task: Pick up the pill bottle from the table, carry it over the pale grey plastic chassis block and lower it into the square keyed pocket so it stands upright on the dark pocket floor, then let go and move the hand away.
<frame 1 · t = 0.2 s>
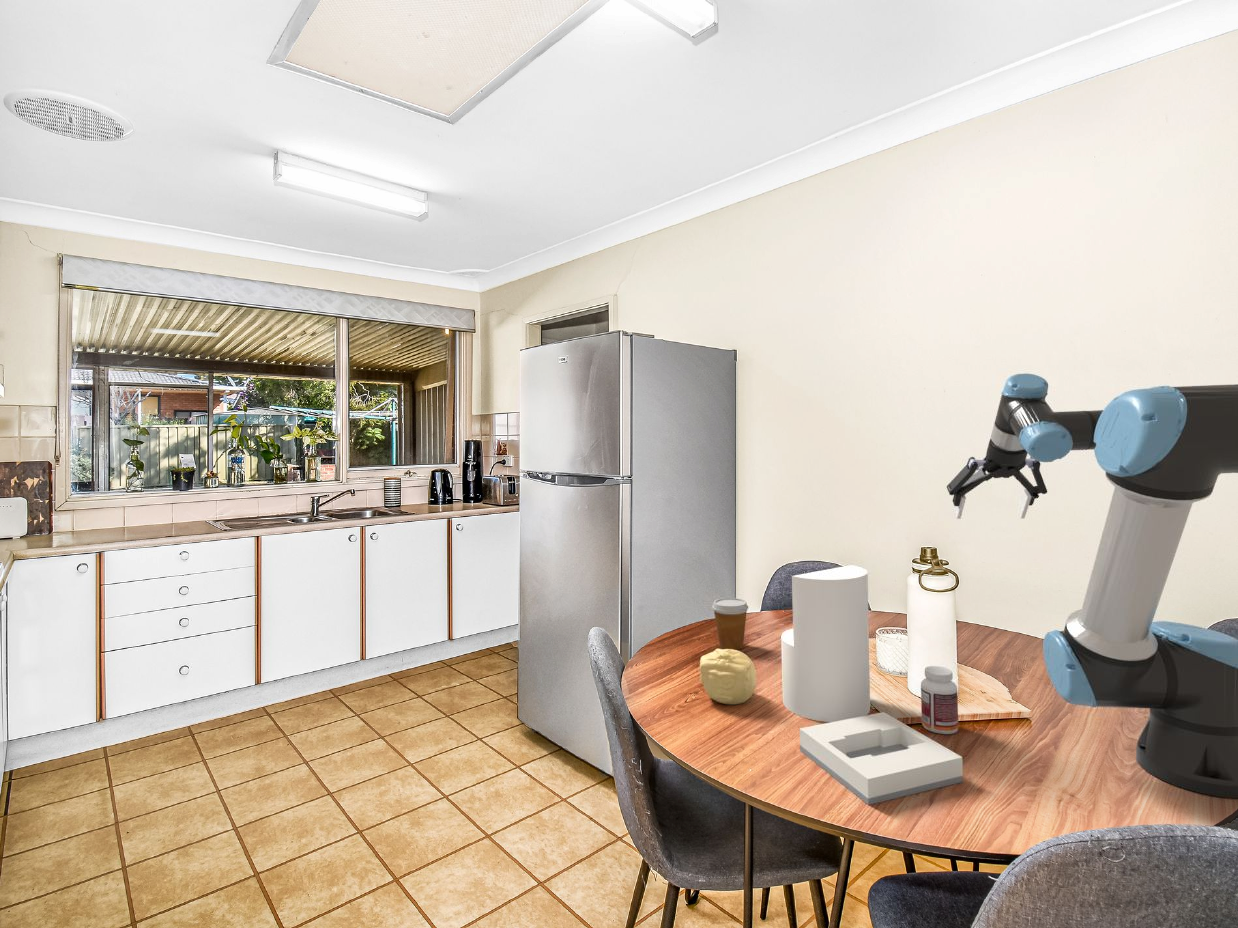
hand: (988, 514, 150), 36 cm above the table, tool tilted 35°, fingers open, 13 cm apart
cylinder: (825, 704, 132), on the table
sculpture: (729, 699, 137), on the table
disposable coffee cup: (731, 647, 170), on the table
pill bottle: (939, 728, 120), on the table
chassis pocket: (876, 765, 107), on the table
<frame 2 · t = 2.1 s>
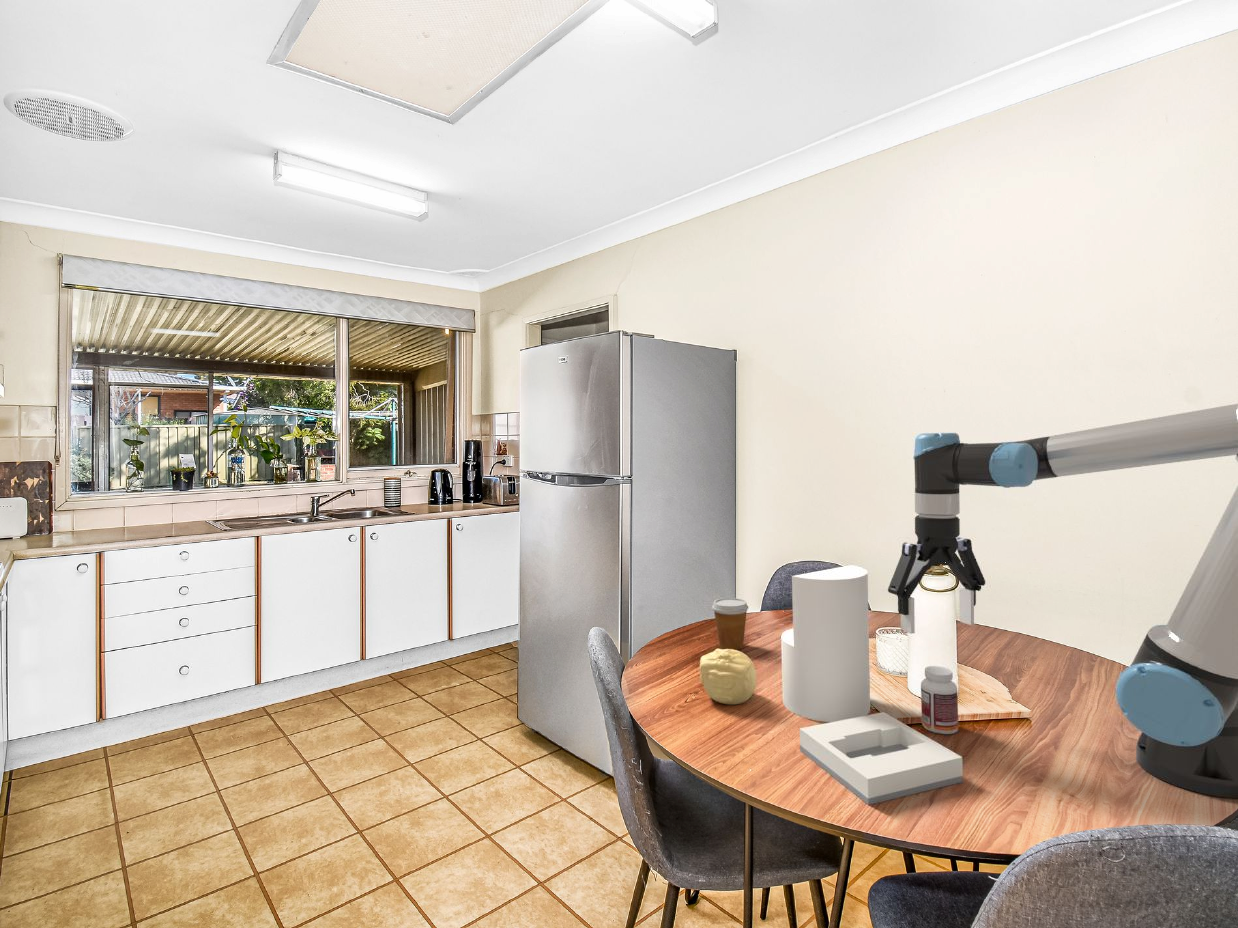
hand: (937, 627, 120), 19 cm above the table, tool pointing down, fingers open, 13 cm apart
nothing on the table moved.
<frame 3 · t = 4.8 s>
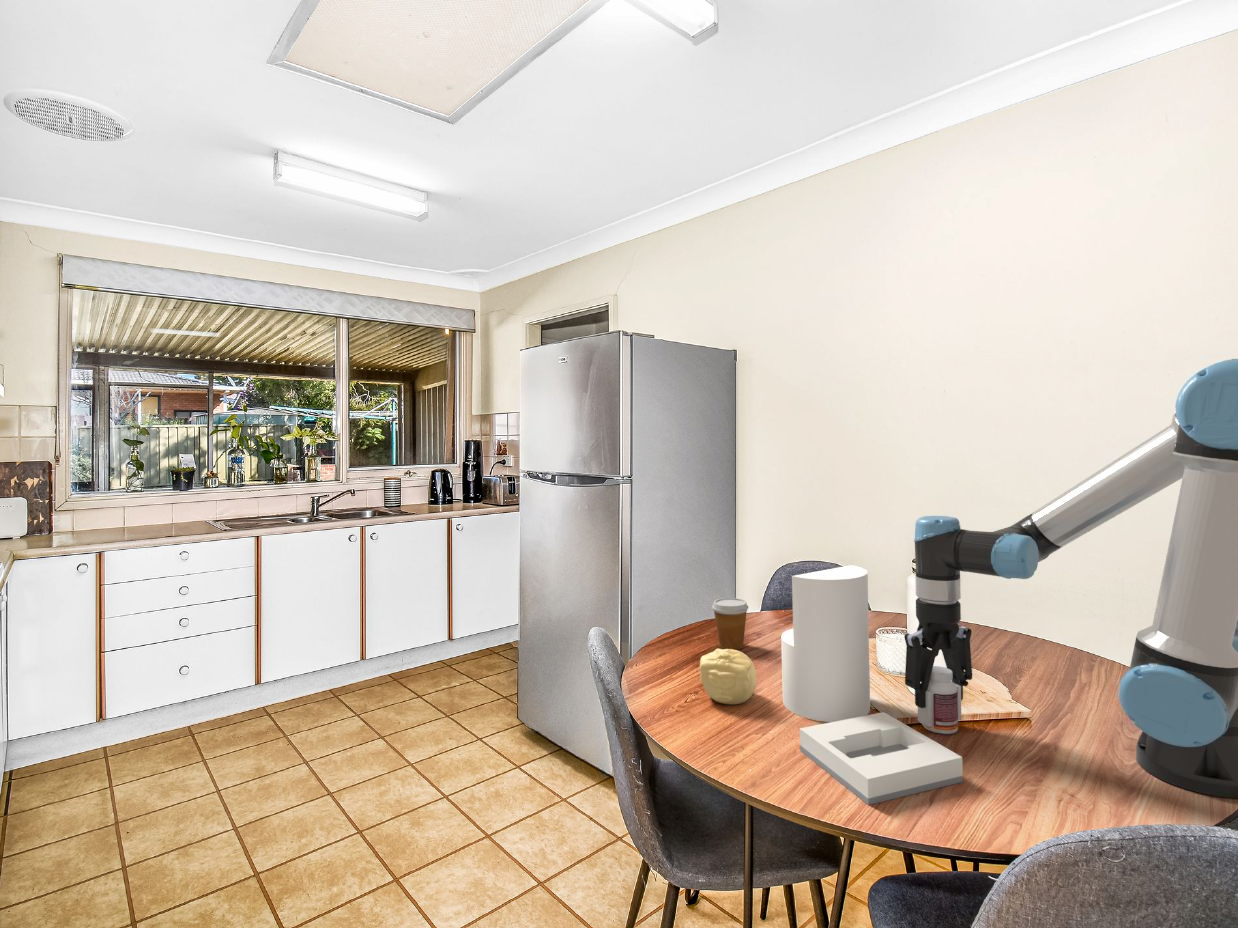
hand: (939, 720, 120), 1 cm above the table, tool pointing down, fingers closed on pill bottle, 6 cm apart
pill bottle: (939, 728, 120), on the table, touching gripper
everything else where it was.
when the fingers open (3 cm above the table, at t = 11.1 s): pill bottle stays where it is, resting on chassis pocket.
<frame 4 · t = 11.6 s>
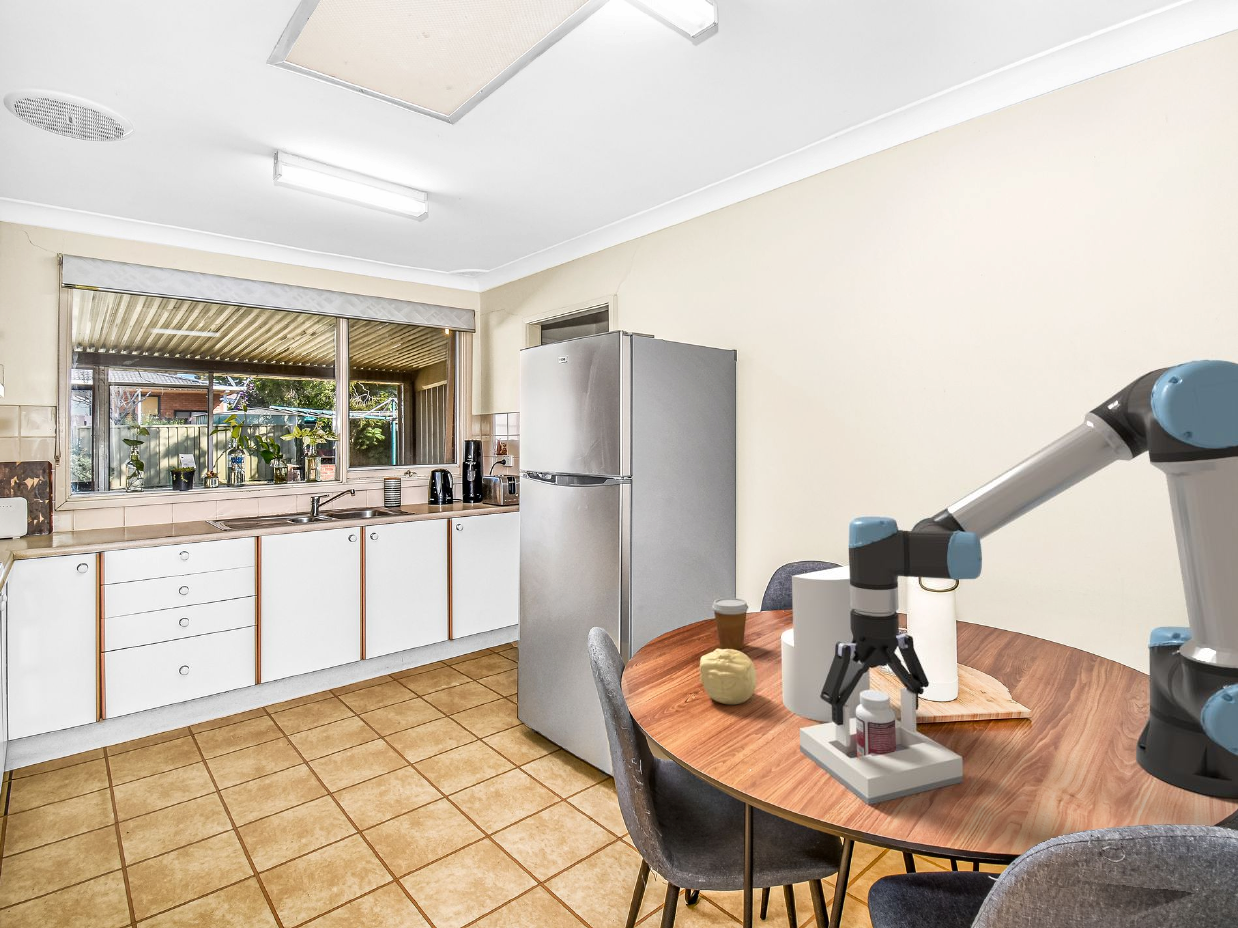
hand: (876, 735, 107), 5 cm above the table, tool pointing down, fingers open, 13 cm apart
pill bottle: (876, 760, 107), point 1 cm above the table, touching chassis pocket
everything else where it was.
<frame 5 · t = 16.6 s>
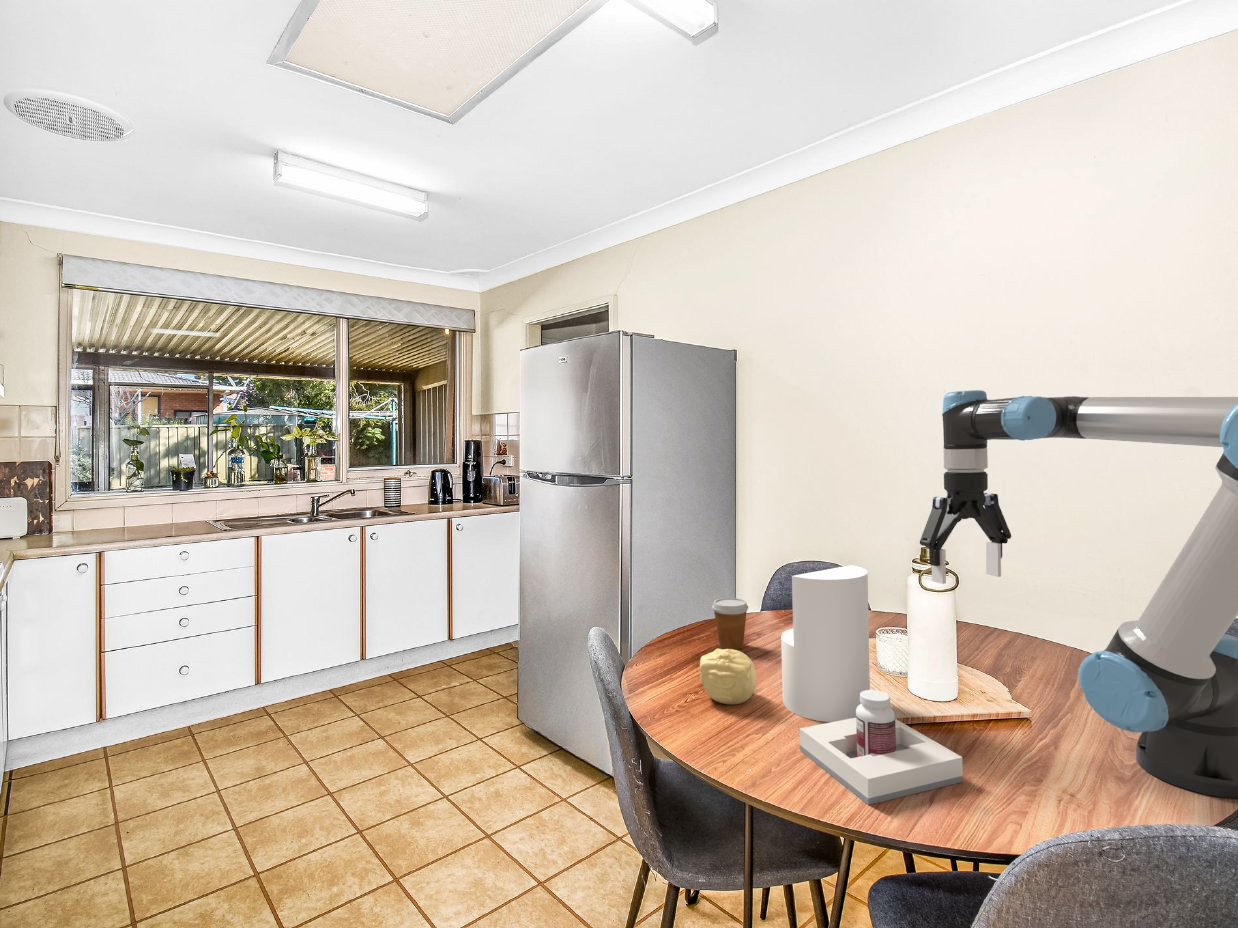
hand: (966, 578, 125), 27 cm above the table, tool pointing down, fingers open, 13 cm apart
nothing on the table moved.
at the end: pill bottle 0.1 cm off-centre on the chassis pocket, point 0.8 cm above the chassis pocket's base; pill bottle tilted 0°; the gripper is holding nothing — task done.
